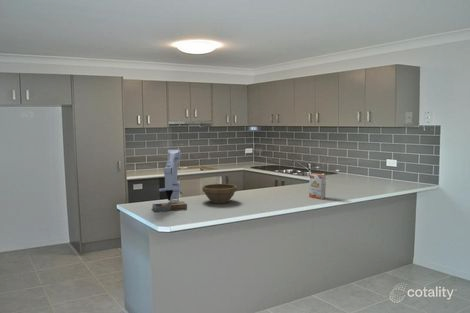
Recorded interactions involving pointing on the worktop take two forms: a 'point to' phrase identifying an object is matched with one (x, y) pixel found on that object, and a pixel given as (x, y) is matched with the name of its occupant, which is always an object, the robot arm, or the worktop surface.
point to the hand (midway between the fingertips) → (169, 200)
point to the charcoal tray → (158, 207)
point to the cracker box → (317, 186)
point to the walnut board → (178, 205)
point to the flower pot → (219, 192)
